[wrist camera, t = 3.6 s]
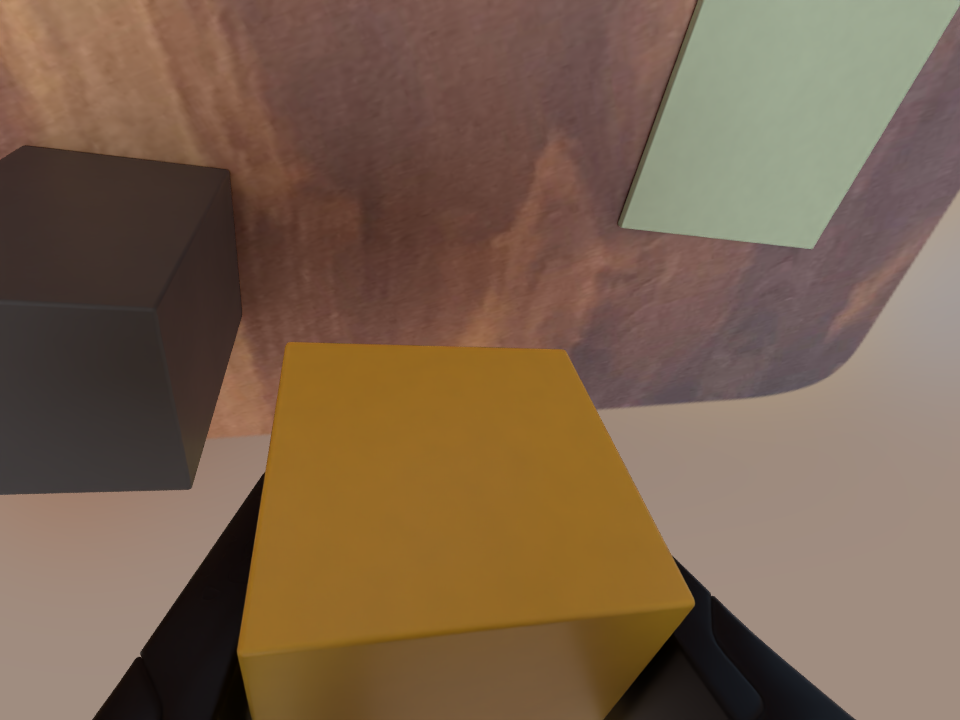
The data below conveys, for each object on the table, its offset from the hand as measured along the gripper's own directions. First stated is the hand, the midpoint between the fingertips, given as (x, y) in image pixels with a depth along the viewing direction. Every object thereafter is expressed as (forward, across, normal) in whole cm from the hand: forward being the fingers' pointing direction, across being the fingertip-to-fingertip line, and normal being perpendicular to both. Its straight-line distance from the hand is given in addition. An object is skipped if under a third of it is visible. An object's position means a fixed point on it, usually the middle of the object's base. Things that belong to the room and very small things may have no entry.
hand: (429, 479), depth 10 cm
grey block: (+13, +9, +2) cm, 16 cm away
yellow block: (+1, 0, 0) cm, 1 cm away
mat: (+13, -15, -5) cm, 20 cm away
